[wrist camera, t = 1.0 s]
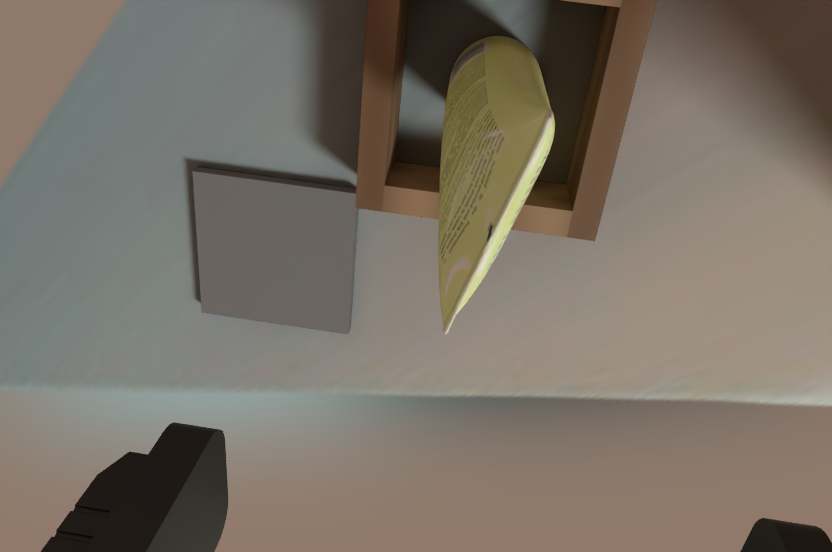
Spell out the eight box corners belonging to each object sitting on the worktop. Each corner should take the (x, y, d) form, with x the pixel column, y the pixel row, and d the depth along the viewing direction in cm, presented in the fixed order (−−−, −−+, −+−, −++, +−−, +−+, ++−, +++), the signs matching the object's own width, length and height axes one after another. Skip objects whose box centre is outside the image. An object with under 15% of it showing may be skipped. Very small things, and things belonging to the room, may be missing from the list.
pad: (359, 188, 40) (356, 193, 39) (350, 327, 44) (348, 334, 44) (197, 166, 40) (192, 171, 39) (206, 306, 45) (201, 312, 44)
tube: (556, 121, 36) (604, 297, 19) (468, 150, 38) (442, 338, 21) (527, 18, 34) (553, 114, 17) (435, 52, 35) (373, 174, 18)
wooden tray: (645, -31, 32) (663, -25, 29) (586, 212, 39) (594, 240, 35) (384, -62, 33) (371, -60, 30) (368, 182, 39) (355, 207, 36)
